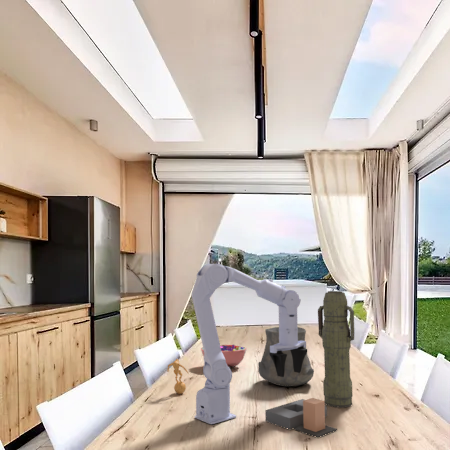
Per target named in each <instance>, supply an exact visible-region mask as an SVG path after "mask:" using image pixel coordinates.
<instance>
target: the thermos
mask: <svg viewBox="0 0 450 450" xmlns="http://www.w3.org/2000/svg"><path fill="white" fill-rule="evenodd" d="M348 311H349V314H348ZM348 316H349V319H348ZM317 320H318V321H317V322H318V336H319V337H320V338H321V339H322V340H321V341H322V347H323V352H324V353H323V357H324V360H323V361H324V362H323V363H324V378H323V381H322V382H323V383H322V384H323V387H322V388H323V397H324V400H323V401H324V402H325V405H326V404H327V405H326V406H328V405H329V406H328V407H332V406H334V407H333V408H349V407H352V406H353V395H354V394H353V381H352V379H351V364H350V363H351V361H350V349H351V342H353V341H355V312H354V309H353V308H352V306H349V305H348V299H347V295H346V294H345V292H343V291H342V290H341V291H340V290H329V291H327V292H325V294H324V296H323V301H322V305H320V306H319V307H318V309H317ZM348 320H349V321H348ZM349 325H350V326H349ZM351 405H352V406H351Z"/></svg>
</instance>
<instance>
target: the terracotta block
mask: <svg viewBox="0 0 450 450" xmlns="http://www.w3.org/2000/svg"><path fill="white" fill-rule="evenodd" d="M325 406H326V404H325V402H324V400H322V399H319V398H314V397H310V398H308V399H307V398H306V399H304V401H303V422H304V428H305V429H308V430H311V431H314V432H317V431H320V430H322V429H325V425H326V417H325Z"/></svg>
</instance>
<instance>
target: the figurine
mask: <svg viewBox="0 0 450 450" xmlns="http://www.w3.org/2000/svg"><path fill="white" fill-rule="evenodd" d="M179 362H180V361H179V358H176V359H175V360H174V361H172V362H171V363H169V364H168V365H167V371H166V372H167V373H169V372H170V367H173V374H175V381H176V383H175V384H174V386H173V389H174V392H175V393H176V394H178V395H182V394H183V393H185V392H186V389H187V386H186V383H184V382H183V381H182V380H181V379H182V377H183V373H182V371H181V370H180V368H182V369H183V370H184V371H185V372H186V373H187V374H189V371H188V370H187V368H186V367H185V366H183V365H182V364H181V363H179ZM178 375H179V379H178Z"/></svg>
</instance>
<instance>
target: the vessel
mask: <svg viewBox="0 0 450 450" xmlns="http://www.w3.org/2000/svg"><path fill="white" fill-rule="evenodd" d="M264 332H265V335H266V337H265V339H266V340H265V346H264V350H263V353H262V356H261V360H260V361H259V362H258V363H257V365H258V366H257V367H258V374H259V376H260V377H261V378H262V379H263V380H264V381H267V382H269V383H271V384H273V385H276V386H281V387H297V386H302V385H305V384H307V383H308V382H310V381H311V380H312V379H313V377H314V374H315V373H314V372H315V370H314V368H313V367H312V365H311V361H310V357H309V355H308V353H307V354H306V355H305V358H304V360H303V363H302V368H301V372H300V373H297V372H294V369H293V358H292V354H291V351H290V350H286V351H282V352H283V354H287V357H286V361H285V372H284V377H280V376H277V372H276V368H275V365H274V362H273V360H272V358H271V356H270V355H269V352H270V346H272V345H275V344H277V343H279V326H278V327H276V326H275V327H270V328H265V331H264ZM306 332H307V330H306V328H303V327H299V326H298V341H306V334H307V333H306ZM305 349H307V346H306V347H305Z"/></svg>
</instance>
